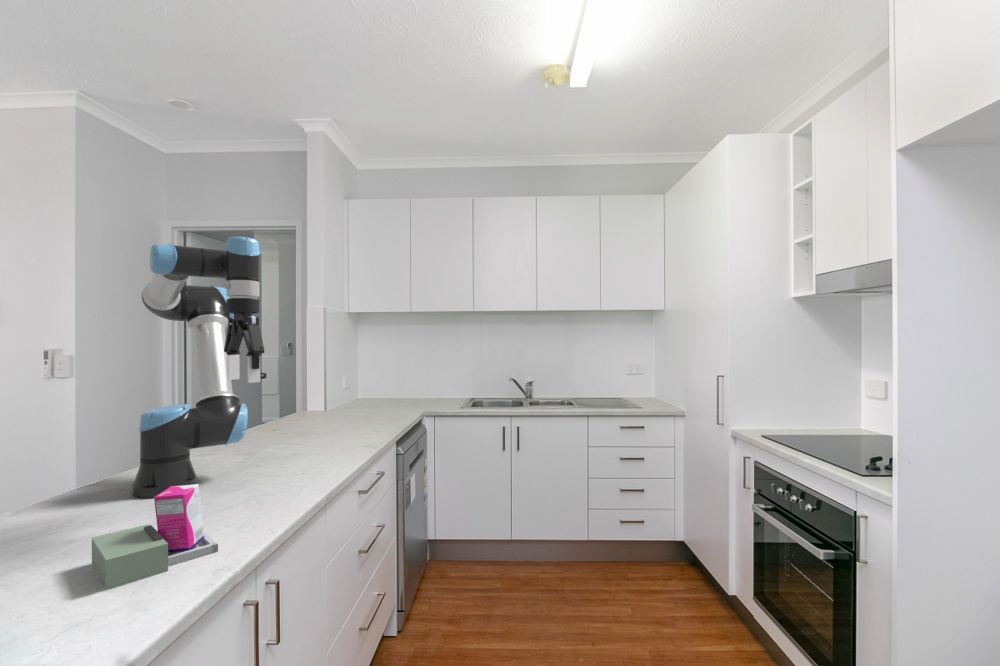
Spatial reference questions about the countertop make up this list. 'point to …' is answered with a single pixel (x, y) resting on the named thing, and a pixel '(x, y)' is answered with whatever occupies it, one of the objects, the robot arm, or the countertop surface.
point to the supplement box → (180, 517)
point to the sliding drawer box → (139, 555)
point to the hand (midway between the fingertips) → (243, 381)
